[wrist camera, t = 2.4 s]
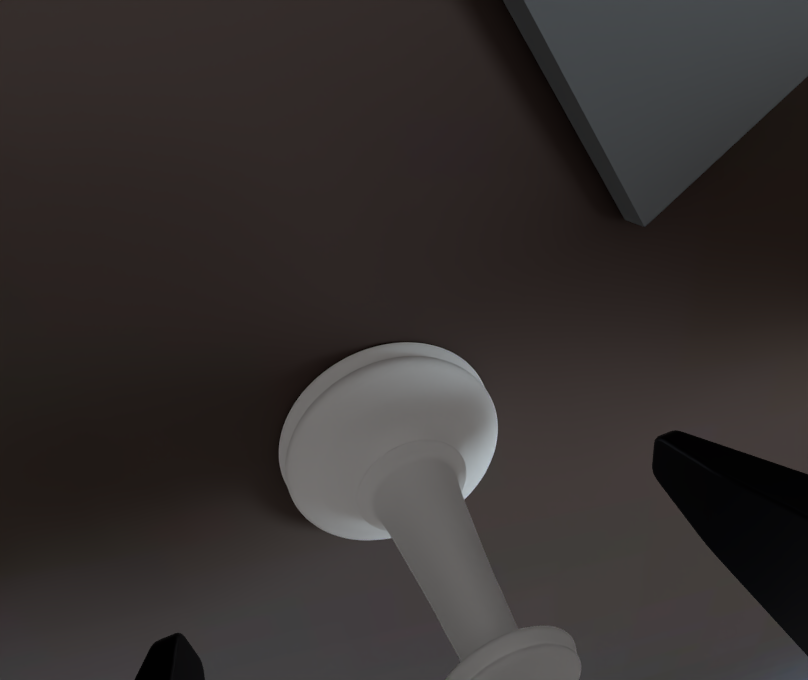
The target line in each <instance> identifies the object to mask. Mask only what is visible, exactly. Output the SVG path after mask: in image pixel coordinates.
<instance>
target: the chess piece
mask: <svg viewBox="0 0 808 680" xmlns="http://www.w3.org/2000/svg"><path fill="white" fill-rule="evenodd" d="M497 434H498V421H497V414H496V410H495V407H494V404H493V401H492V399H491V397H490V395H489V393H488V392H487V390H486V389H485V387H484V384H483V382H482V380H481V379H480V377H479V375H478V374H477V373H476V371H475V370H474V369H473V368H472V367H471V366H470V365H469V364H468V363H467V362H466V361H465V360H463V359H462V358H461V357H459V356H458V355H456V354H454V353H452V352H450V351H448V350H446V349H443V348H441V347H437V346H434V345H430V344H424V343H415V342H400V343H390V344H384V345H380V346H375V347H372V348H368V349H365V350H362V351H360V352H357V353H355V354H353V355H350V356H348V357H346V358H345V359H343V360H341V361H339V362H338V363H336V364H334V365H333V366H331V367H330V368H328V369H327V370H326V371H324V372H323V373H322V374H321V375H319V376H318V377H317V378H316V379H315V380H314V381H313V382H312V383H311V384H310V385H309V386H308V387H307V388H306V389H305V390H304V391H303V392H302V394H301V395H300V396H299V398H298V399H297V400H296V402H295V403H294V405H293V407H292V408H291V410H290V412H289V414H288V416H287V418H286V420H285V423H284V425H283V428H282V432H281V436H280V441H279V465H280V470H281V474H282V477H283V479H284V482H285V483H286V485H287V487H288V490H289V493H290V496H291V498H292V500H293V502H294V504H295V505H296V507H297V508H298V510H299V511H300V512H301V513H302V515H303V516H304V517H305V518H306V519H307V520H309V521H310V522H311V523H312V524H314V525H315V526H317V527H318V528H320V529H322V530H324V531H326V532H328V533H330V534H333V535H336V536H339V537H343V538H347V539H354V540H381V539H389V538H392V539H393V541H394V542H395V544H396V546H397V548H398V549H399V551H400V553H401V555H402V556H403V558H404V560H405V561H406V563H407V565H408V567H409V568H410V570H411V572H412V574H413V575H414V577H415V579H416V580H417V582H418V584H419V586H420V588H421V589H422V591H423V593H424V595H425V597H426V598H427V600H428V602H429V603H430V605H431V607H432V609H433V611H434V612H435V614H436V616H437V618H438V620H439V622H440V624H441V626H442V628H443V630H444V632H445V633H446V635H447V637H448V639H449V641H450V643H451V644H452V646H453V648H454V650H455V652H456V653H457V655H458V657H459V659H460V661H461V662H460V663H459V664H458V665H457V666H456V667H455V668H454V669H453V670H452V672H451V673H450V674H449V675H448V676H447V678H446V679H445V680H579V678H580V674H581V661H580V658H579V656H578V655H577V653H576V645H575V642H574V640H573V638H572V637H571V635H570V634H568V633H567V632H566V631H564V630H563V629H560V628H558V627H553V626H531V627H526V628H521V629H518V627H517V625H516V623H515V620H514V618H513V616H512V613H511V611H510V609H509V606H508V604H507V602H506V600H505V597H504V595H503V593H502V591H501V589H500V586H499V584H498V582H497V580H496V578H495V575H494V573H493V571H492V568H491V566H490V563H489V561H488V558H487V556H486V553H485V551H484V549H483V546H482V544H481V541H480V539H479V536H478V534H477V531H476V529H475V526H474V524H473V521H472V519H471V516H470V514H469V511H468V508H467V506H466V503H465V501H464V499H465V498H466V497H467V496H468V495H469V494H470V493H471V492H472V491H473V490H474V488H475V487H476V486H477V484H478V483H479V482H480V480H481V479H482V477H483V476H484V474H485V472H486V470H487V468H488V466H489V464H490V462H491V460H492V457H493V454H494V451H495V447H496V442H497Z"/></svg>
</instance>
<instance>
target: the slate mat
mask: <svg viewBox="0 0 808 680" xmlns="http://www.w3.org/2000/svg"><path fill="white" fill-rule="evenodd" d="M503 2H504V3H505V5H506V7H507V9H508V11H509V12H510V14H511V16H512V18H513V20H514V21H515V23H516V25H517V27H518V29H519V30H520V32H521V34H522V36H523V38H524V39H525V41H526V43H527V45H528V47H529V48H530V50H531V52H532V54H533V56H534V57H535V59H536V61H537V63H538V65H539V66H540V68H541V70H542V72H543V74H544V75H545V77H546V79H547V81H548V83H549V84H550V86H551V88H552V90H553V92H554V93H555V95H556V97H557V99H558V101H559V102H560V104H561V106H562V108H563V110H564V111H565V113H566V115H567V117H568V119H569V120H570V122H571V124H572V126H573V128H574V129H575V131H576V133H577V135H578V136H579V138H580V140H581V142H582V144H583V145H584V147H585V149H586V151H587V153H588V154H589V156H590V158H591V160H592V162H593V163H594V165H595V167H596V169H597V171H598V172H599V174H600V176H601V178H602V180H603V181H604V183H605V185H606V187H607V189H608V190H609V192H610V194H611V196H612V198H613V199H614V201H615V203H616V205H617V207H618V208H619V210H620V212H621V214H622V216H623V217H624V219H625V220H626V221H629V222H632V223H635V224H637V225H640V226H643V227H645V226H646V225H648V224H649V223H650V222H651V221H652V220H653V219H654V218H655V217H656V216H657V215H658V214H659V213H660V212H662V211H663V210H664V209H665V208H666V207H667V206H668V205H669V204H670V203H671V202H672V201H673V200H674V199H676V198H677V197H678V196H679V195H680V194H681V193H682V192H683V191H684V190H685V189H686V188H687V187H689V186H690V185H691V184H692V183H693V182H694V181H695V180H696V179H697V178H698V177H699V176H700V175H701V174H703V173H704V172H705V171H706V170H707V169H708V168H709V167H710V166H711V165H712V164H713V163H714V162H715V161H717V160H718V159H719V158H720V157H721V156H722V155H723V154H724V153H725V152H726V151H727V150H728V149H730V148H731V147H732V146H733V145H734V144H735V143H736V142H737V141H738V140H739V139H740V138H741V137H742V136H744V135H745V134H746V133H747V132H748V131H749V130H750V129H751V128H752V127H753V126H754V125H755V124H756V123H758V122H759V121H760V120H761V119H762V118H763V117H764V116H765V115H766V114H767V113H768V112H769V111H770V110H772V109H773V108H774V107H775V106H776V105H777V104H778V103H779V102H780V101H781V100H782V99H783V98H785V97H786V96H787V95H788V94H789V93H790V92H791V91H792V90H793V89H794V88H795V87H796V86H797V85H799V84H800V83H801V82H802V81H803V80H804V79H805V78H806V77H807V76H808V0H503Z"/></svg>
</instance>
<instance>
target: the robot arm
mask: <svg viewBox="0 0 808 680" xmlns="http://www.w3.org/2000/svg"><path fill="white" fill-rule="evenodd" d="M652 469H653V473H654V475H655V477H656V479H657V480H658V482H659V483H660V484H661V486H662V487H663V488H664V490H665V491H666V492H667V494H668V495H669V496H670V498H671V499H672V500H673V502H674V503H675V504H676V506H677V507H678V508H679V510H680V511H681V512H682V514H683V515H684V516H685V518H686V519H687V520H688V522H689V523H690V524H691V525H692V527H693V528H694V529H695V531H696V532H697V533H698V535H699V536H700V537H701V539H702V540H703V541H704V542H705V543H706V545H707V546H708V547H709V548H710V549H711V551H712V552H713V553H714V554H715V555H716V556H717V557H718V558H719V560H720V561H721V562H722V563H723V564H724V565H725V566H726V567H727V568H728V569H729V571H730V572H731V573H732V574H733V575H734V576H735V577H736V578H737V579H738V580H739V581H740V583H741V584H742V585H743V586H744V587H745V588H746V589H747V590H748V591H749V592H750V593H751V595H752V596H753V597H754V598H755V599H756V600H757V601H758V602H759V603H760V604H761V605H762V607H763V608H764V609H765V610H766V611H767V612H768V613H769V614H770V615H771V616H772V617H773V619H774V620H775V621H776V622H777V623H778V624H779V625H780V626H781V627H782V628H783V630H784V631H785V632H786V633H787V634H788V635H789V636H790V637H791V638H792V639H793V640H794V642H795V643H796V644H797V645H798V646H799V647H800V648H801V649H802V650H803V651H804V652H805V654H806V655H807V656H808V474H805V473H802V472H799V471H796V470H793V469H790V468H787V467H785V466H782V465H779V464H776V463H773V462H770V461H767V460H764V459H761V458H758V457H755V456H752V455H749V454H746V453H743V452H740V451H737V450H734V449H731V448H728V447H726V446H723V445H720V444H717V443H714V442H711V441H708V440H705V439H702V438H699V437H696V436H693V435H690V434H687V433H684V432H681V431H676V430H675V431H670V432H668V433H665V434H663V435H660V436H658V437H657V438H656V439H655V442H654V451H653V462H652ZM135 680H205V677H204V670H203V666H202V662H201V660H200V658H199V656H198V655H197V654H196V652H195V651H194V649H193V648H192V646H191V645H190V644H189V642H188V641H187V639H186V638H185V637H184V635H183V634H181V633H175V634H173V635H170V636H168V637H165V638H163V639H160V640H158V641H156V642H155V643H154V644H153V645H152V646H151V648H150V650H149V651H148V654H147V656H146V658H145V660H144V662H143V664H142V666H141V668H140V670H139V672H138V674H137V676H136V678H135Z"/></svg>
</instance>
